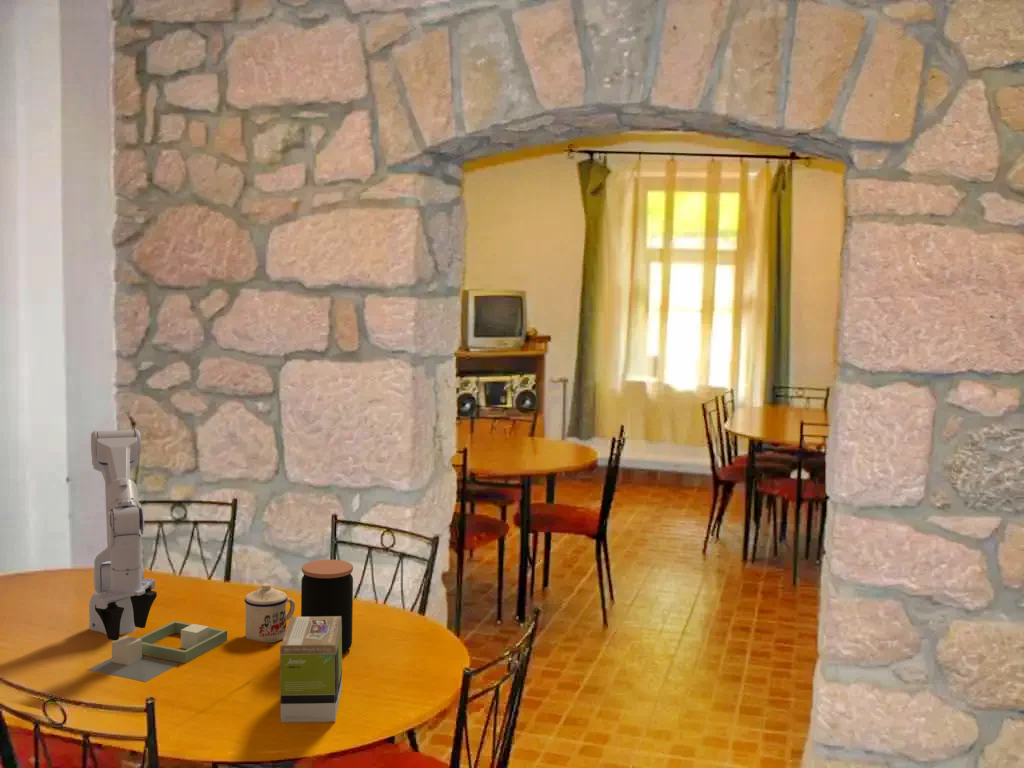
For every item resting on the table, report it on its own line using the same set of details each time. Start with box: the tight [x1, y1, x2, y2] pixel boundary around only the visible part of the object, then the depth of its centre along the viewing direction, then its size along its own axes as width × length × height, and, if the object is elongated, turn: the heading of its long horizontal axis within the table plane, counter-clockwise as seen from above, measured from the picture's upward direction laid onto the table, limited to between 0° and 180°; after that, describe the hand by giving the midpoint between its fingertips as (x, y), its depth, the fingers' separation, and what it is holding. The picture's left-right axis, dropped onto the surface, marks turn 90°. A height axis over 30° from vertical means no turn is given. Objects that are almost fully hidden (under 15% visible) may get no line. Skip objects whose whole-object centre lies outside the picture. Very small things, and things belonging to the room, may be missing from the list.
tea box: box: [279, 615, 343, 723], centre depth 189 cm, size 15×10×15 cm
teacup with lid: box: [244, 583, 296, 644], centre depth 223 cm, size 12×9×12 cm
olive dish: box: [138, 620, 228, 664], centre depth 214 cm, size 14×14×3 cm
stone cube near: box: [111, 635, 143, 665], centre depth 205 cm, size 4×4×4 cm
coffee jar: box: [300, 559, 354, 655], centre depth 216 cm, size 11×11×18 cm
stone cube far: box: [180, 623, 210, 650], centre depth 214 cm, size 4×4×4 cm
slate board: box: [87, 655, 181, 683], centre depth 203 cm, size 14×10×1 cm
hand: (126, 633), depth 205 cm, fingers open, 7 cm apart
